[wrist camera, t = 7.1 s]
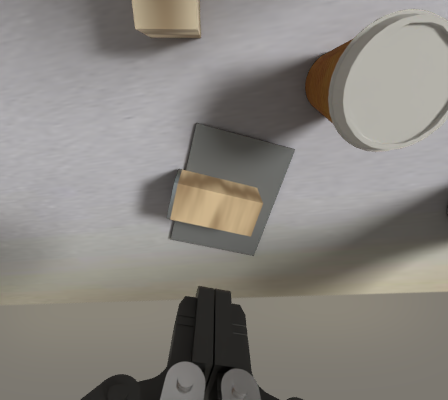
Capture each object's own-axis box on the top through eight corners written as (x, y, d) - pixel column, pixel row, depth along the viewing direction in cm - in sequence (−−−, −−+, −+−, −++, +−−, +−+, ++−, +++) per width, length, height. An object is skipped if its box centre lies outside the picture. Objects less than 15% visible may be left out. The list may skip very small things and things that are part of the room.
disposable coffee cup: (383, 106, 30) (478, 124, 20) (303, 140, 32) (351, 174, 21) (369, 14, 27) (477, -27, 16) (278, 57, 28) (321, 47, 17)
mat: (294, 149, 32) (294, 149, 32) (253, 254, 39) (253, 255, 38) (196, 122, 30) (196, 123, 30) (171, 237, 37) (170, 239, 37)
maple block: (198, -25, 25) (194, -52, 19) (200, 37, 27) (197, 29, 22) (144, -26, 25) (125, -54, 19) (150, 37, 27) (135, 28, 21)
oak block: (178, 168, 32) (257, 187, 34) (172, 201, 34) (246, 217, 36) (174, 182, 28) (263, 203, 30) (166, 218, 30) (250, 236, 32)
